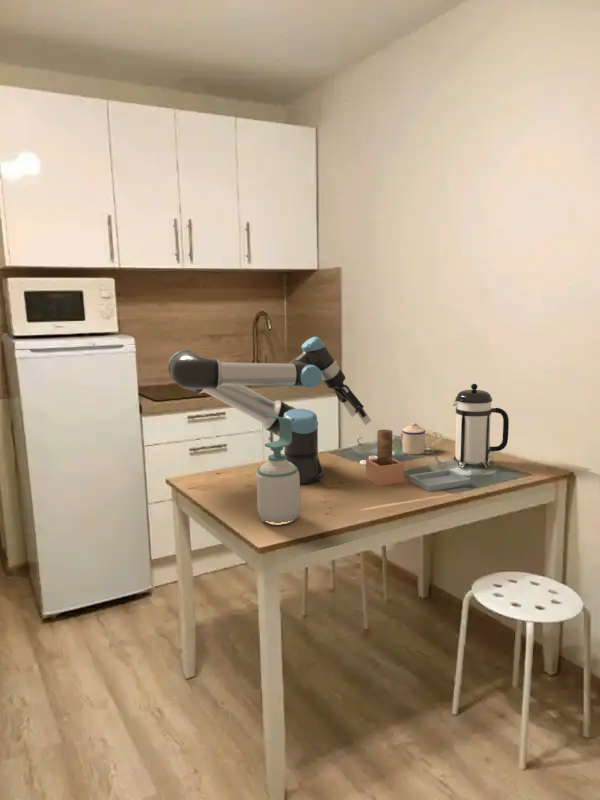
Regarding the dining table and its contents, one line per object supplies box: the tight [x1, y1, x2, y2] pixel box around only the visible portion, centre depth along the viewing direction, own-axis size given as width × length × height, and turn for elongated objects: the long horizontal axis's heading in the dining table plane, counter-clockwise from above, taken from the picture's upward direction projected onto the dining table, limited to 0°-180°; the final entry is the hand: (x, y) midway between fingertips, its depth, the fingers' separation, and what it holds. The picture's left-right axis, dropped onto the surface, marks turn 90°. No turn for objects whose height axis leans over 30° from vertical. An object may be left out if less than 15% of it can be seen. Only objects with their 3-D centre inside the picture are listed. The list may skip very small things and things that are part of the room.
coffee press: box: [451, 383, 510, 466], centre depth 222 cm, size 17×16×30 cm
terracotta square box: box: [365, 457, 405, 487], centre depth 207 cm, size 9×9×7 cm
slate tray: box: [408, 468, 471, 493], centre depth 203 cm, size 16×12×2 cm
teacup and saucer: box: [359, 455, 377, 466], centre depth 225 cm, size 9×8×4 cm
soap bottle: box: [255, 414, 301, 523], centre depth 173 cm, size 12×12×31 cm
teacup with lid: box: [400, 422, 426, 455], centre depth 243 cm, size 12×9×12 cm
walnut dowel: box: [376, 429, 393, 466], centre depth 205 cm, size 5×5×17 cm
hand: (361, 418), depth 232 cm, fingers open, 13 cm apart
